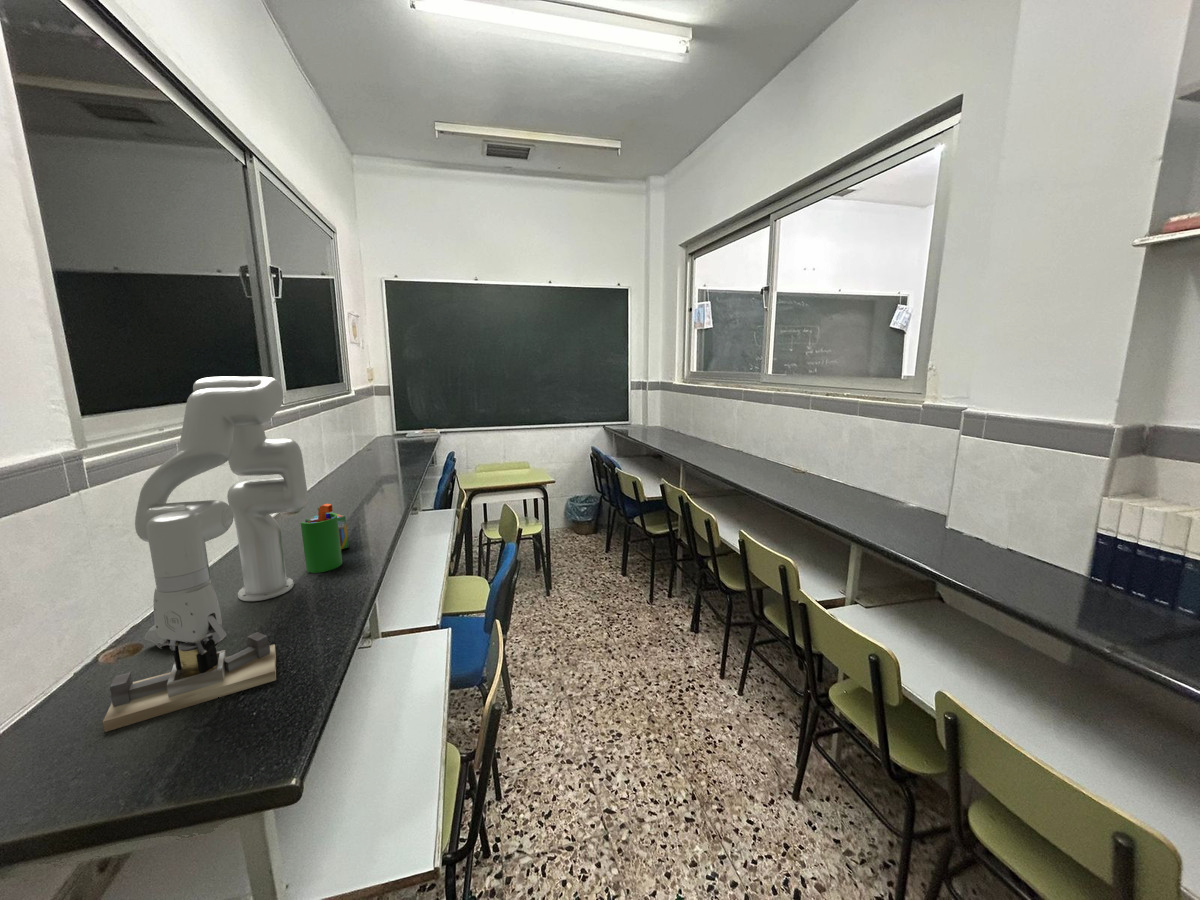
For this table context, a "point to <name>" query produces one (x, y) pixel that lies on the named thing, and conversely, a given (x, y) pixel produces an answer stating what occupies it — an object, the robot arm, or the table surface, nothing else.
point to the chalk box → (341, 527)
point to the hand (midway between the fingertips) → (197, 666)
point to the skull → (155, 638)
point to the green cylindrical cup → (322, 541)
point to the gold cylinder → (189, 658)
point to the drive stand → (190, 685)
